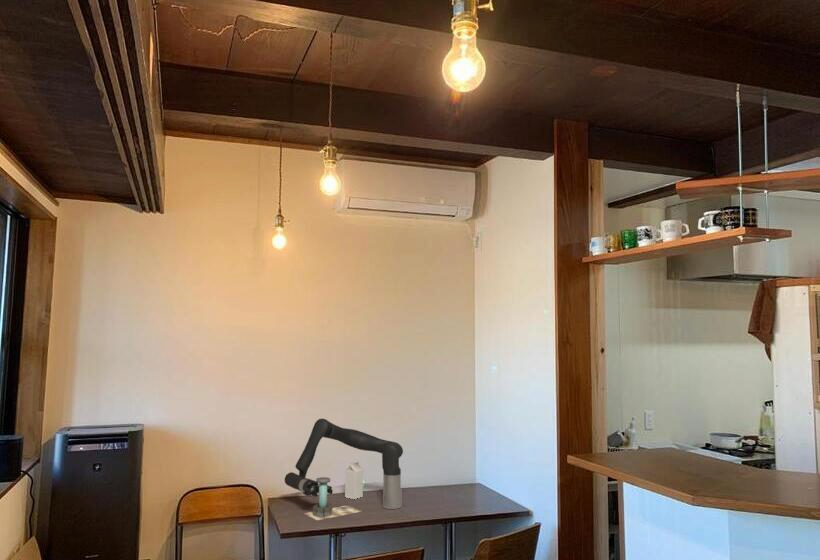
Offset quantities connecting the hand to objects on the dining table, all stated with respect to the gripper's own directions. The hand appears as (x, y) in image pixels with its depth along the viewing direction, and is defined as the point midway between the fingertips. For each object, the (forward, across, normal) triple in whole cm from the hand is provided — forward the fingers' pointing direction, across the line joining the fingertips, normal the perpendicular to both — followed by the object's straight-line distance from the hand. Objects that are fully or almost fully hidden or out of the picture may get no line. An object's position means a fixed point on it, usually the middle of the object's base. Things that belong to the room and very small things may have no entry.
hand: (324, 493), depth 302 cm
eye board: (-1, +6, +12) cm, 13 cm away
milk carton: (-24, +33, +12) cm, 43 cm away
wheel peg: (-1, 0, +10) cm, 11 cm away
